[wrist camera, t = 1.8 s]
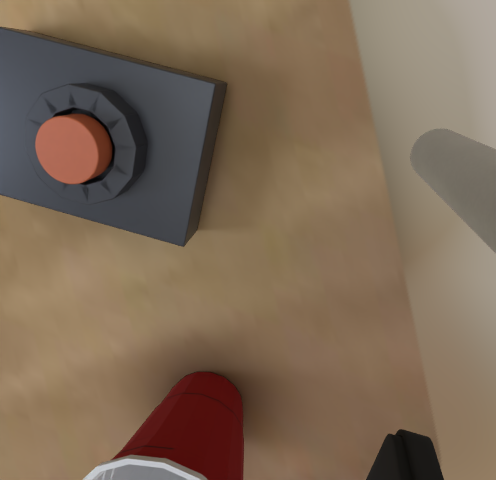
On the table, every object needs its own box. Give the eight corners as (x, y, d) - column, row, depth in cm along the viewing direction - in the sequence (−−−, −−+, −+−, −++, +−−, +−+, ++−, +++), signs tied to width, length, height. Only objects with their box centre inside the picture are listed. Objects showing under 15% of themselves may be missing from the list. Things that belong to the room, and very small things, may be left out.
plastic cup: (215, 317, 33) (161, 441, 22) (299, 417, 35) (290, 578, 24) (116, 379, 36) (26, 512, 25) (198, 466, 38) (148, 626, 27)
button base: (227, 82, 27) (208, 83, 22) (197, 230, 30) (175, 258, 26) (29, 30, 27) (-30, 21, 23) (23, 181, 31) (-29, 200, 27)
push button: (116, 122, 24) (101, 126, 22) (109, 184, 25) (95, 192, 24) (55, 106, 24) (36, 108, 22) (51, 168, 25) (32, 175, 24)
